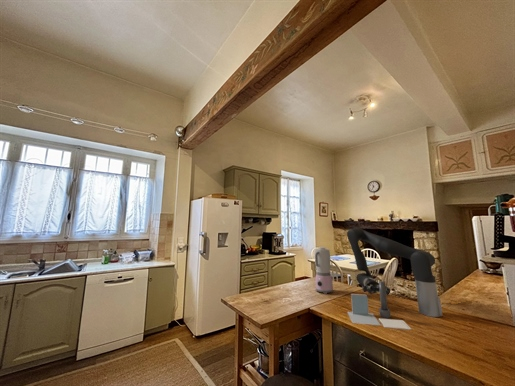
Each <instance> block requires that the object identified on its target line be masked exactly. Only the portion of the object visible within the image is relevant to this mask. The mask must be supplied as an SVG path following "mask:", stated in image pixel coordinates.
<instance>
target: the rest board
mask: <svg viewBox="0 0 515 386" xmlns="http://www.w3.org/2000/svg"><path fill="white" fill-rule="evenodd" d="M378 321H379V323H380V324H381V325H382V326H383V327H384V328H385V329H397V330H406V331H407V330H409V331H412V328H411V327H410V326H409V325H408V324H407V323H406V322H405V321H404V320H402V319H391V318H378Z"/></svg>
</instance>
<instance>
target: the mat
mask: <svg viewBox="0 0 515 386" xmlns="http://www.w3.org/2000/svg"><path fill="white" fill-rule="evenodd" d="M347 315H348V317H349V319H350V320H351V323H352V324H360V325H371V326H372V325H373V326H381V322H380V321H379V319H377V317H376V316H375V314H374V313H370V312H369V315H360V314H353V313H352V311H347Z"/></svg>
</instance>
